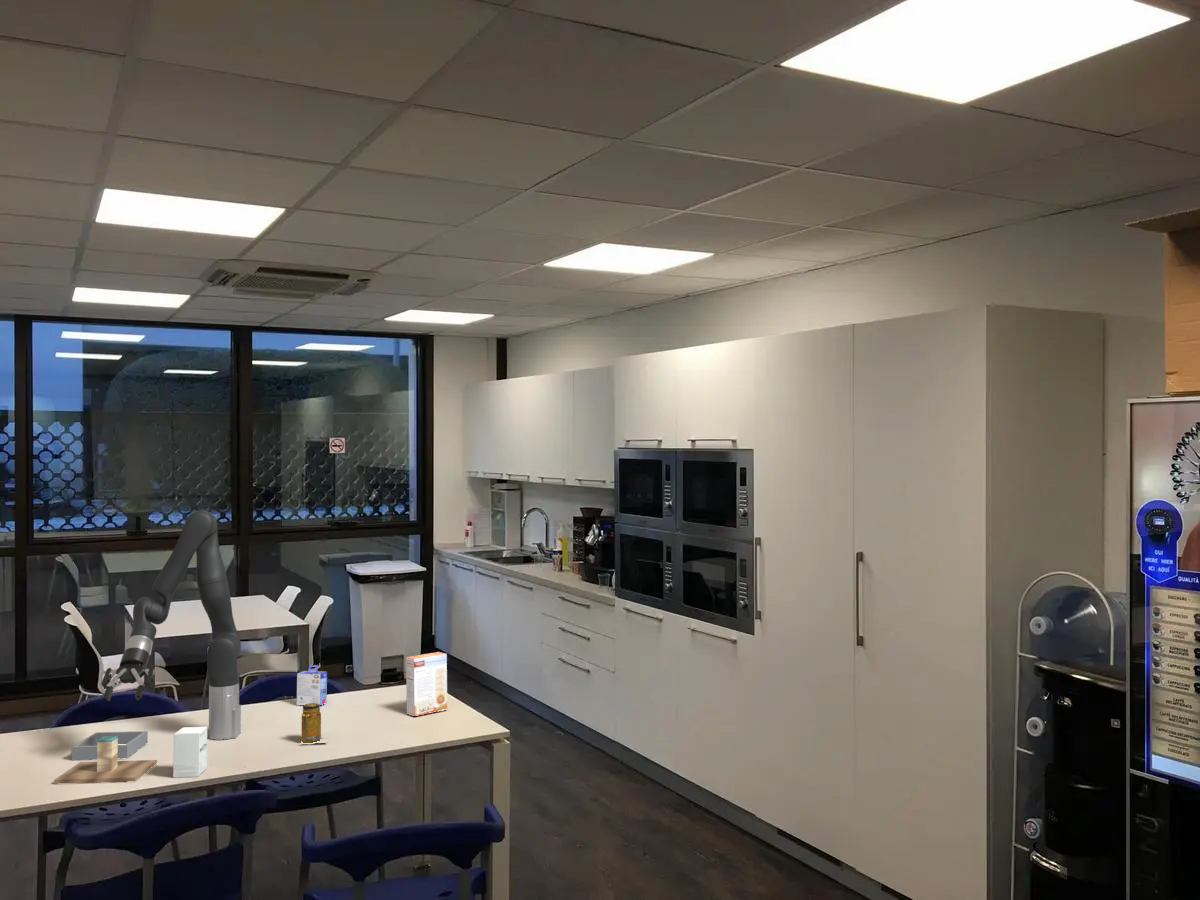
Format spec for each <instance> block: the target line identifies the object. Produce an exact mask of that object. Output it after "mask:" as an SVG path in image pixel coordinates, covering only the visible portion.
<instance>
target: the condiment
mask: <svg viewBox="0 0 1200 900" xmlns="http://www.w3.org/2000/svg"><path fill="white" fill-rule="evenodd" d="M321 738H322V713H321V706H320V705H319V704H317V703H309V704H305V705H304V706H302V713H301V738H300V739H301V740H302V742H303V743H313V742H317V741H320V739H321Z"/></svg>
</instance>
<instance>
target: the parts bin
mask: <svg viewBox="0 0 1200 900" xmlns="http://www.w3.org/2000/svg"><path fill="white" fill-rule="evenodd" d="M148 732H149V731H148V730H139V731H137V730H134V731H102V732H100V731H99V732H98V731H96V732H94V733H93V734H91V735H89V736H88V737H86V738H84V739H83V740H81V741H80V742H78V743H77V744H75V745H74V746H72V748H71V750H72V752H71V754H72V755H71V757H72V758H71V761H92V759H97V740H99V739H100V738H102V737H106V736H118V744H126V745H118V758H128V757H129V756H130V755H132V754H133V753H134V752H136V751H137V750H138V749H140V748H141V747H142V746H144V745H145V744H146V743H148V741H149V740H148V736H149V735H148V734H149V733H148ZM146 745H147V744H146ZM146 745H145V746H146ZM145 746H144V747H145ZM142 748H143V747H142ZM142 748H141V749H142ZM141 749H140V750H141ZM138 751H139V750H138ZM138 751H137V752H138ZM137 752H136V753H137ZM134 754H135V753H134ZM134 754H133V755H134ZM133 755H132V756H133ZM130 757H131V756H130ZM130 757H129V758H130ZM129 758H128V759H129Z"/></svg>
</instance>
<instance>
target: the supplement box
mask: <svg viewBox="0 0 1200 900" xmlns="http://www.w3.org/2000/svg"><path fill="white" fill-rule="evenodd" d="M172 764H173V767H172V769H173V771H172V773H173V774H172V777H173V778H199V777H200V776H201V775H202V774H203V773H204V772H205V771H206V770H207V769H206V768H208V767H207V766H208V765H207V764H208V726H190V727H189V726H187V727H181V728H180V729H179V730H177V731H176V732H175V733H174V734H173V763H172ZM205 769H206V770H205ZM204 770H205V771H204ZM203 771H204V772H203ZM202 772H203V773H202Z"/></svg>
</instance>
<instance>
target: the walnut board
mask: <svg viewBox="0 0 1200 900" xmlns="http://www.w3.org/2000/svg"><path fill="white" fill-rule="evenodd" d="M156 763H157V764H158V760H157V759H145V760H144V759H143V760H137V759H136V760H117V768H116V769H114V770H113V771H111V772H97V761H80V762H78V763H77V764H75V765H74V766H73V767H70V768H69V769H68V770H66V771H65V772H64V773H62V774H60V775H58V776H57V777H56V778H55V779H54V780H53V784H54V783H77V784H100V783H101V782H110V783H125V782H124V781H136V780H137V779H138V778H139V779H141V778H142V777H143V776H144V775H145V774H147V773H148V772H149V771H150V770H151V769H150V768H151V767H153V766H154V765H155V764H156ZM157 764H156V765H157ZM156 765H155V766H156ZM155 766H154V767H155ZM154 767H153V768H154ZM149 769H150V770H149ZM148 770H149V771H148ZM147 771H148V772H147ZM146 772H147V773H146ZM144 773H145V774H144ZM143 774H144V775H143ZM142 775H143V776H142ZM141 776H142V777H141ZM140 777H141V778H140ZM139 779H138V780H139ZM138 780H137V781H138ZM137 781H136V782H137ZM101 784H102V783H101Z"/></svg>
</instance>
